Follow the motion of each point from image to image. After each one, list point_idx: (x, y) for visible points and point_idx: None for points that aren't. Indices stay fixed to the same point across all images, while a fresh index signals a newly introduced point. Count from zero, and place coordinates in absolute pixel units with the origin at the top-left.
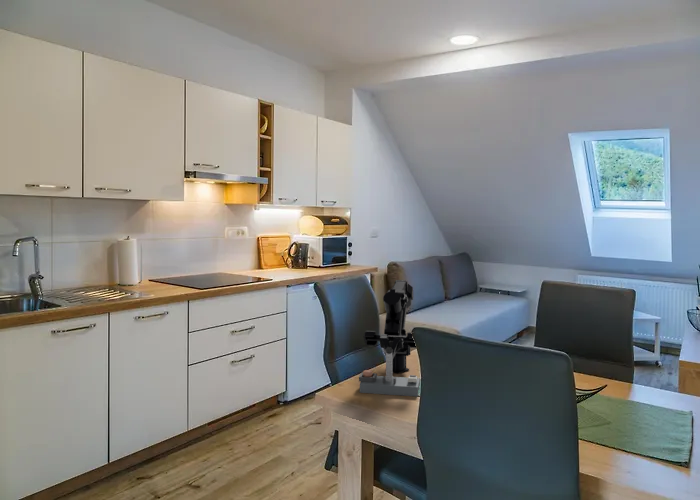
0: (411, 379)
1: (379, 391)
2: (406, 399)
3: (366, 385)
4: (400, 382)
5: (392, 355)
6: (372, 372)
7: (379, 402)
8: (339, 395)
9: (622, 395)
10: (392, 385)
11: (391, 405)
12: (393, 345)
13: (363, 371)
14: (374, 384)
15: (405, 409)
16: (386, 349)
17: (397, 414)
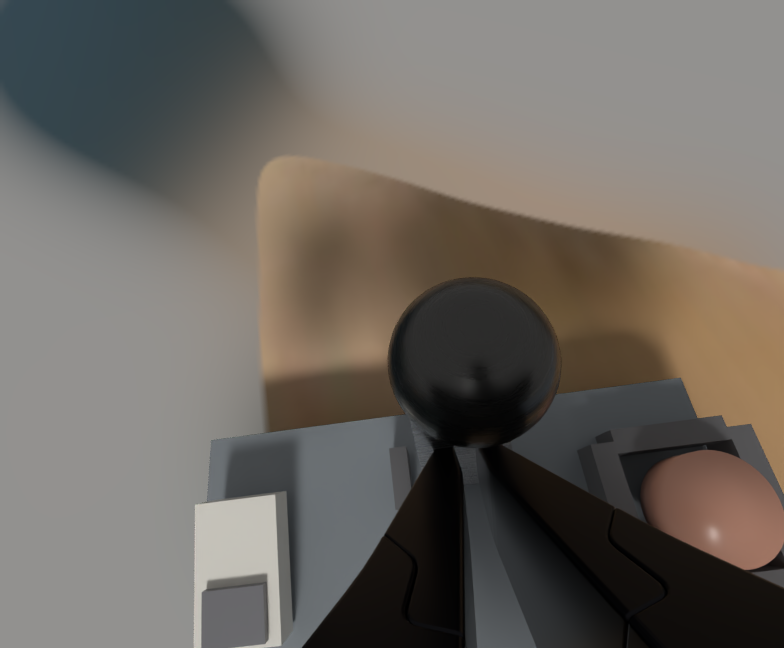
0: (245, 499)
1: None
2: (307, 376)
3: (617, 387)
4: (361, 521)
5: (421, 476)
6: (662, 504)
7: None
8: (741, 307)
9: None
10: (409, 420)
11: (375, 266)
12: (418, 616)
13: (771, 490)
14: (556, 397)
15: (295, 243)
16: (514, 290)
17: (324, 183)
